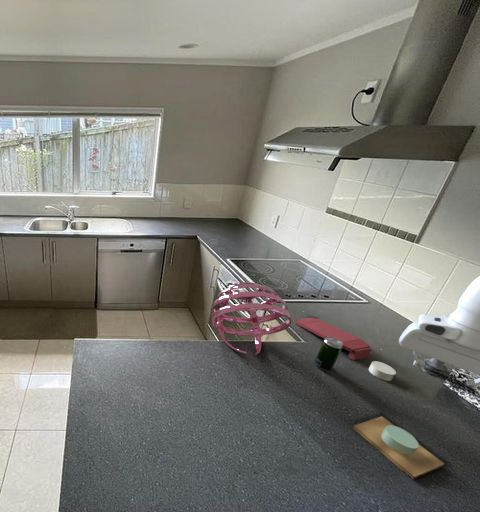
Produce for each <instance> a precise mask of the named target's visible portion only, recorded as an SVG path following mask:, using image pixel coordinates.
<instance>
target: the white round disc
mask: <svg viewBox="0 0 480 512" xmlns="http://www.w3.org/2000/svg"><path fill="white" fill-rule="evenodd" d="M368 372H369V373H370V374H371V375H373V376H374V377H376V378H377V379H379V380H383V381H386V382H390V381H393V379H394V378H395V376H396V374H397V372H396V370H395V369H394V367H392V366H390V365H388V364H386V363H384V362H381V361H378V360H377V361H376V360H373V361H371V363H370V365H369V367H368Z"/></svg>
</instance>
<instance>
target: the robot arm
mask: <svg viewBox="0 0 480 512" xmlns="http://www.w3.org/2000/svg"><path fill="white" fill-rule="evenodd" d="M398 344H399V345H400V347H402V348H404V349H407V350H408V351H409V350H410V351H412V353H413V357H414V361H413V363H412V365H413V367H416V368H419V369H421V368H422V366H424V362H425V361H424V359H420V357H422V356H425V357H428V358H430V359H432V358H434V359H437V360H439V361H442V362H445V363H444V364H447V365H450V366H453V367H456V368H459V369H461V370H464V371H467V372H470V373H472V374H475V375H477V376H480V275H479V276H477V277H476V278H475V279H474V280H472V282H470V283H469V285H468V286H467V287H466V289H465V290H464V292H463V293H462V294H461V296H460V298H459V299H458V302H457V307H456V309H455V310H454V311H453V312H451V313H450V314H449V316H446V315H445V316H444V315H437V314H435V315H434V314H425V313H422V314H420V315H419V316H418V318H417V321H415V322H412V323H410V324H409V325H408V326H407V327H406V328H405V329H404V330H403V332H402V333H401V335H400V337H399V339H398ZM465 386H466V387H467V388H470V389H473V390H477V388H478V387H479V386H480V377H478V378H474V379H473V378H471V377H469V378H467V380H466V381H465Z"/></svg>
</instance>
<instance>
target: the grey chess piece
mask: <svg viewBox="0 0 480 512" xmlns="http://www.w3.org/2000/svg"><path fill="white" fill-rule="evenodd" d="M423 361H424V362H423V363H424V364H423V366H422V368H420V369H421V371H422V372H424V373H426V374H427V375H430V376H432V377H435V378H441V377H442V373H444V372H445V371H448V367H447V366H446V365H445V364H446V363H445V362H442V361H439V360H437V359H434V358H424V359H423Z"/></svg>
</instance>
